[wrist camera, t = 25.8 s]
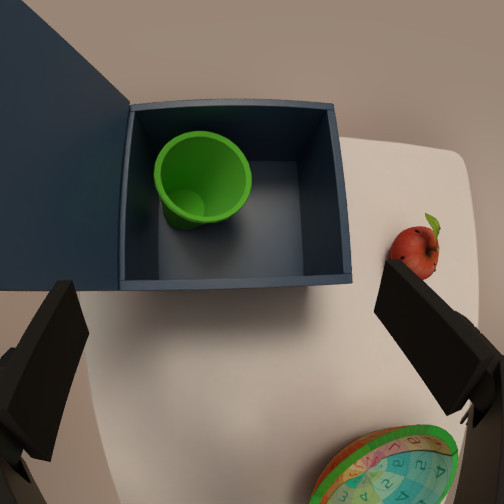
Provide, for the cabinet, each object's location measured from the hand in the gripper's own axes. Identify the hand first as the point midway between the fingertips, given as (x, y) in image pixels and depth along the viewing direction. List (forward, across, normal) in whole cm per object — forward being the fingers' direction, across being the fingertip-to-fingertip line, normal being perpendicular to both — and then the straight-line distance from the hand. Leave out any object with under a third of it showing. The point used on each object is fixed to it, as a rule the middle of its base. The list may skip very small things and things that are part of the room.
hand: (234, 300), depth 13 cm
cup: (+26, -4, -5) cm, 27 cm away
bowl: (+7, +19, -38) cm, 43 cm away
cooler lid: (+7, -11, +6) cm, 14 cm away
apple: (+23, +25, -11) cm, 35 cm away
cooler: (+27, +2, -6) cm, 28 cm away
